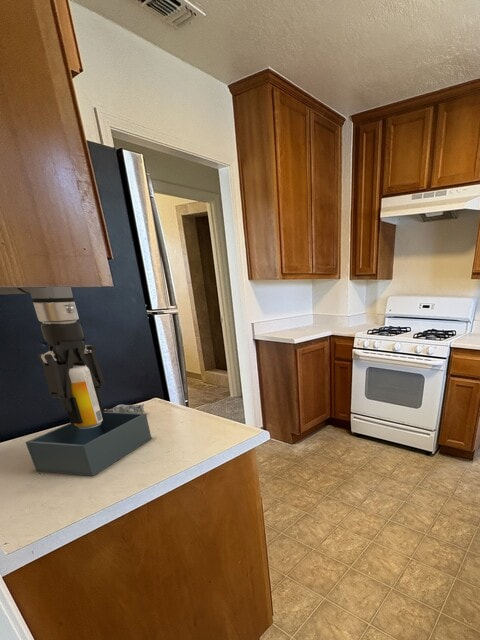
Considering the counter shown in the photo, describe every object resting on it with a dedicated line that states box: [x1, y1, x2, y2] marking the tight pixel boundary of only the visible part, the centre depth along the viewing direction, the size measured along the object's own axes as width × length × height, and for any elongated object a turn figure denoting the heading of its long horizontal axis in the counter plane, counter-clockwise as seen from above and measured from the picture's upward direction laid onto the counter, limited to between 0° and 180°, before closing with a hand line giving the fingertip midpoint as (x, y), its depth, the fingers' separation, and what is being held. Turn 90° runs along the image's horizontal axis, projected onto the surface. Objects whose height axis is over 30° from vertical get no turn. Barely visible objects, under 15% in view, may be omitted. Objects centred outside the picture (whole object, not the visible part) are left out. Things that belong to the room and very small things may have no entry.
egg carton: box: [103, 403, 146, 414], centre depth 117 cm, size 11×8×4 cm
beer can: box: [69, 365, 103, 429], centre depth 86 cm, size 6×6×15 cm
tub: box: [25, 411, 153, 477], centre depth 91 cm, size 16×22×8 cm
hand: (87, 417), depth 88 cm, fingers closed on beer can, 6 cm apart
